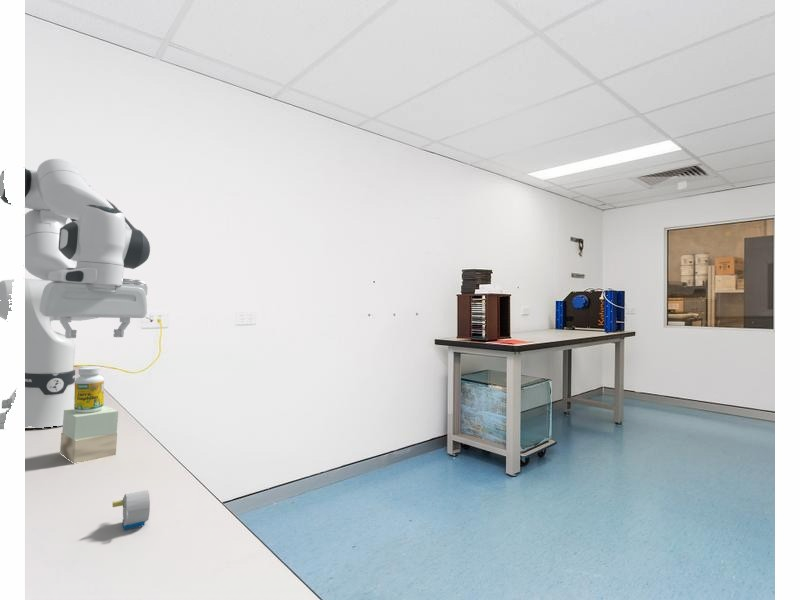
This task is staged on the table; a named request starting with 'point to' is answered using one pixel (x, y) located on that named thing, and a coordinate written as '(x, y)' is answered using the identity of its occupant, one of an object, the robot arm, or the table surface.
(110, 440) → the tower bottom block
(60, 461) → the table surface
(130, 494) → the electric motor
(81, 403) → the supplement bottle
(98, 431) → the tower top block
